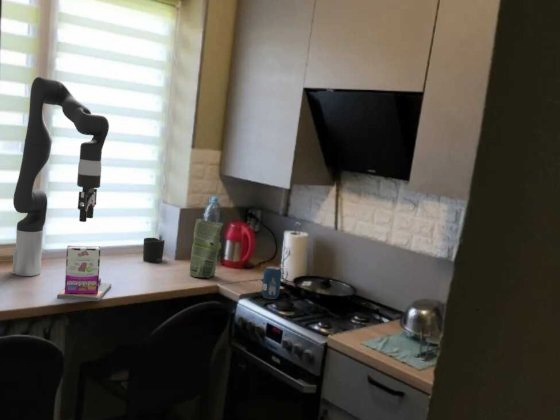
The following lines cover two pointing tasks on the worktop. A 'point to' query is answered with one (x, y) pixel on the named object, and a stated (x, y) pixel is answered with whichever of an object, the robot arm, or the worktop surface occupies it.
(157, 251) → the pen holder
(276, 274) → the soda can
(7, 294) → the worktop surface
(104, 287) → the activity board
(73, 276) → the candy bar box
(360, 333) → the worktop surface
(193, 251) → the pouch
